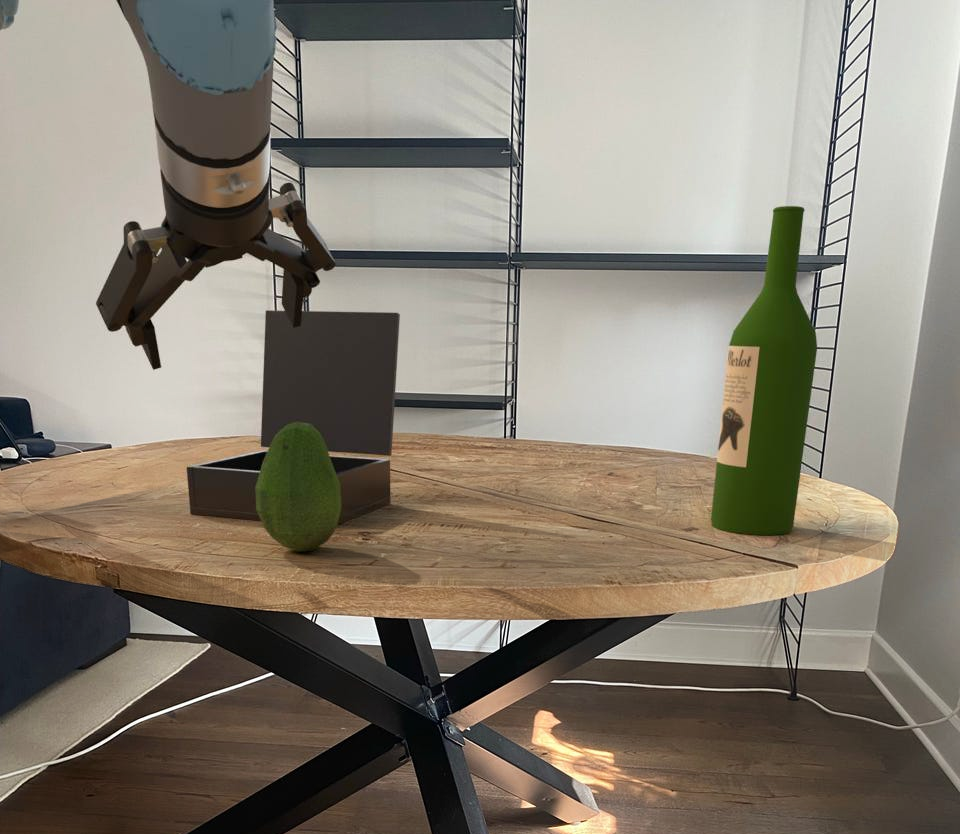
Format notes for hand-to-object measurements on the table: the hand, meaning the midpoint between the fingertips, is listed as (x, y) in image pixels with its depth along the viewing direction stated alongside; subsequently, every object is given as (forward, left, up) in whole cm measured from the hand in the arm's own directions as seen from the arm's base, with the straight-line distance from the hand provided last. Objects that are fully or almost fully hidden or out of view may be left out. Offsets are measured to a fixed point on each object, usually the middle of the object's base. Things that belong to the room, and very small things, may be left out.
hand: (223, 335), depth 84 cm
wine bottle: (+48, +29, -20) cm, 59 cm away
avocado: (+8, -1, -20) cm, 21 cm away
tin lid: (-3, +25, -5) cm, 26 cm away
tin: (-3, +17, -19) cm, 26 cm away
